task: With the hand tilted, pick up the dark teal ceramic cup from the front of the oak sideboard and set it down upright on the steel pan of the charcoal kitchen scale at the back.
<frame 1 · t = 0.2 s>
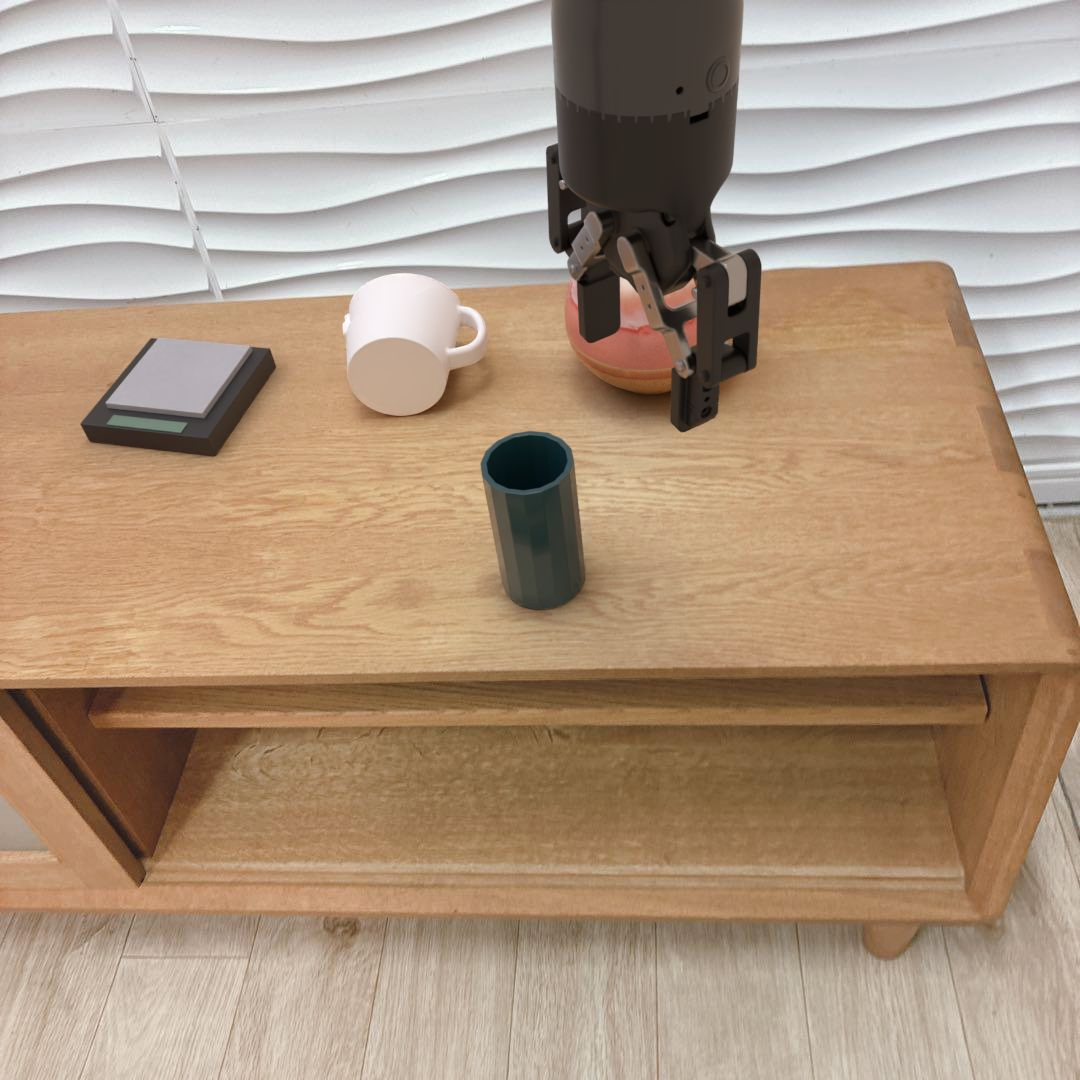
hand: (644, 377, 56), 21 cm above the table, tool pointing down, fingers open, 8 cm apart
scale: (185, 403, 93), on the table
mug: (424, 381, 92), on the table
vase: (652, 371, 90), on the table
cup: (543, 577, 75), on the table
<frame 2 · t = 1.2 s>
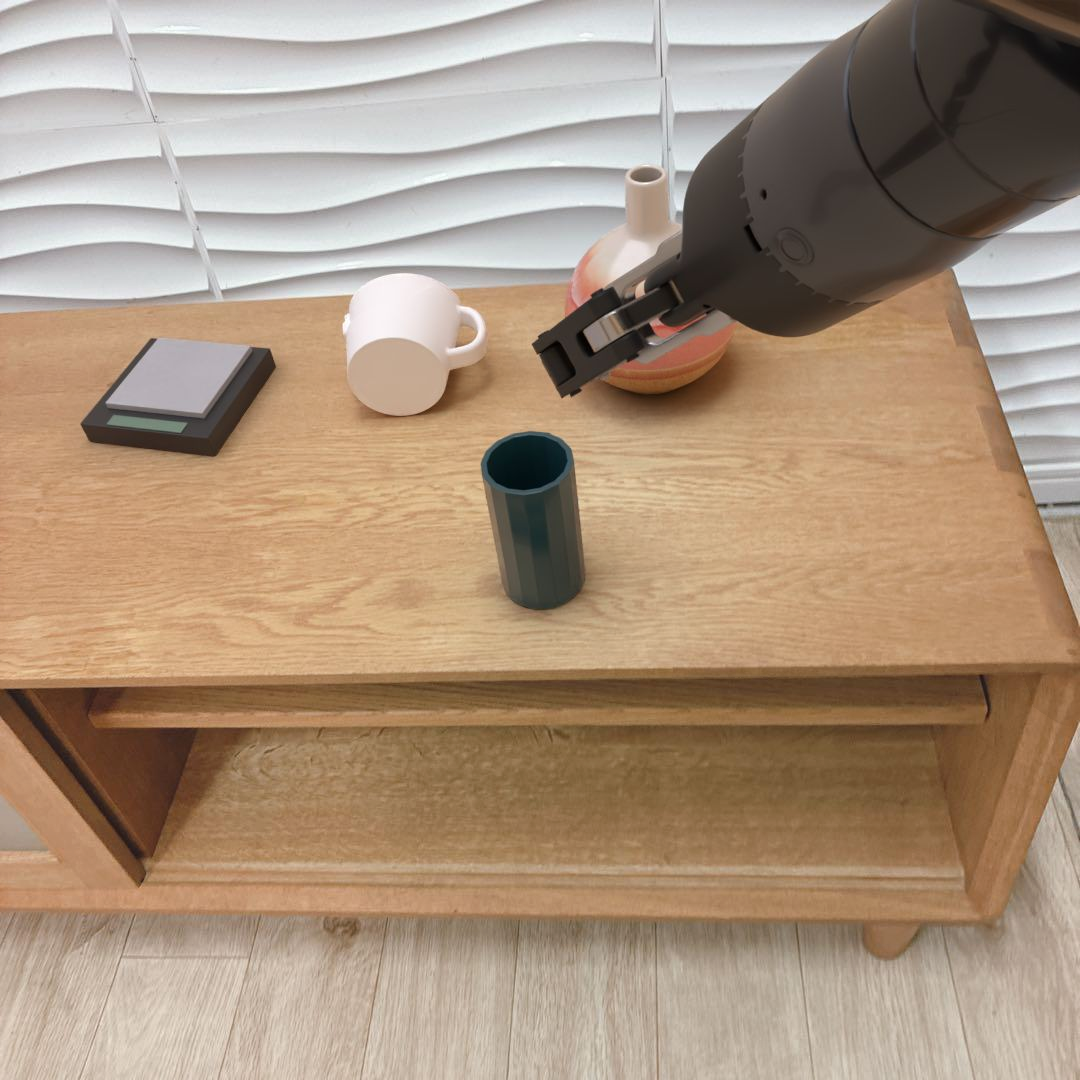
hand: (633, 330, 49), 27 cm above the table, tool tilted 45°, fingers open, 8 cm apart
nothing on the table moved.
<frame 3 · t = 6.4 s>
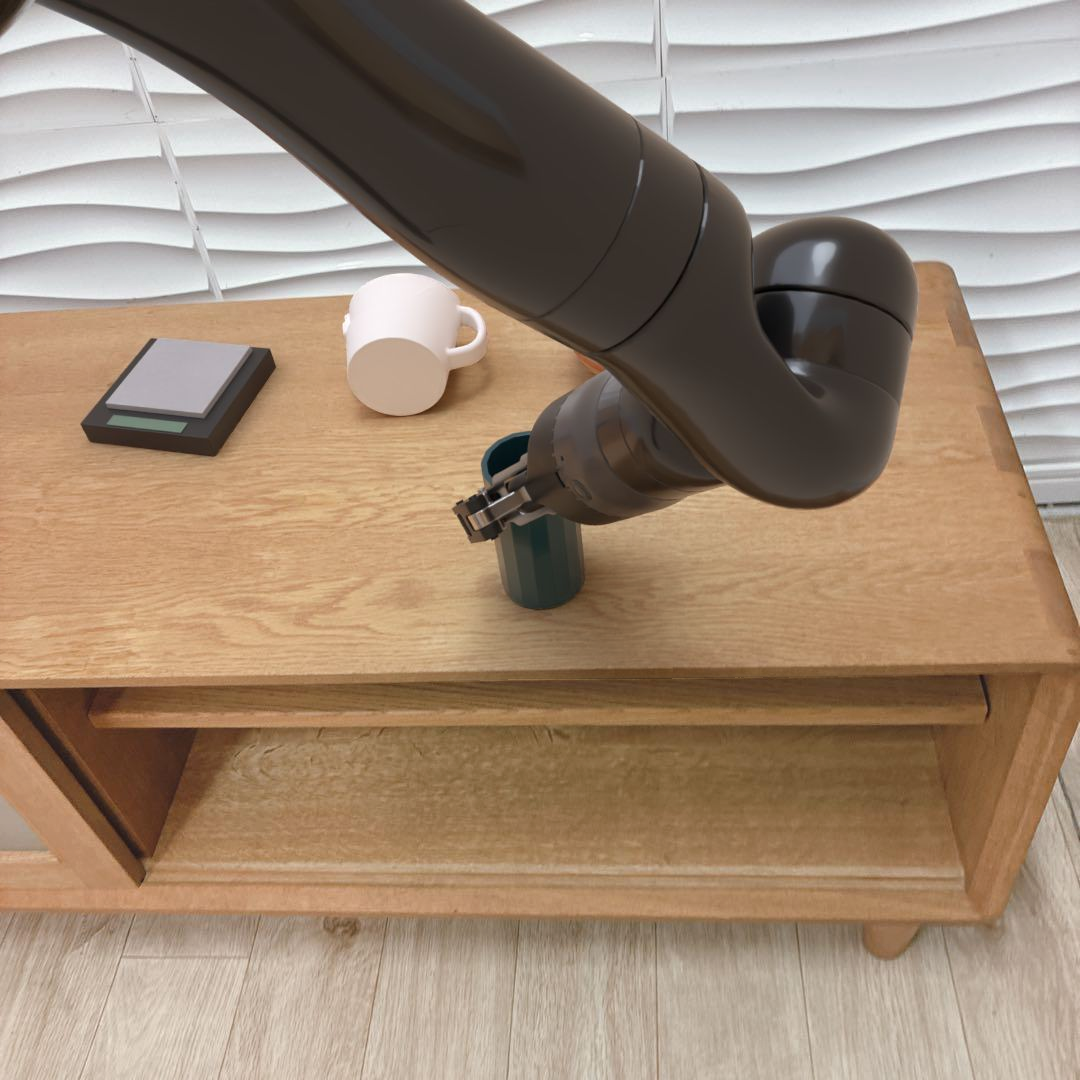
hand: (517, 490, 71), 7 cm above the table, tool tilted 45°, fingers closed on cup, 6 cm apart
cup: (543, 577, 75), on the table, touching gripper
everything else where it was.
when the fingers open (10 cm above the table, at t = 18.2 s): cup stays where it is, resting on scale.
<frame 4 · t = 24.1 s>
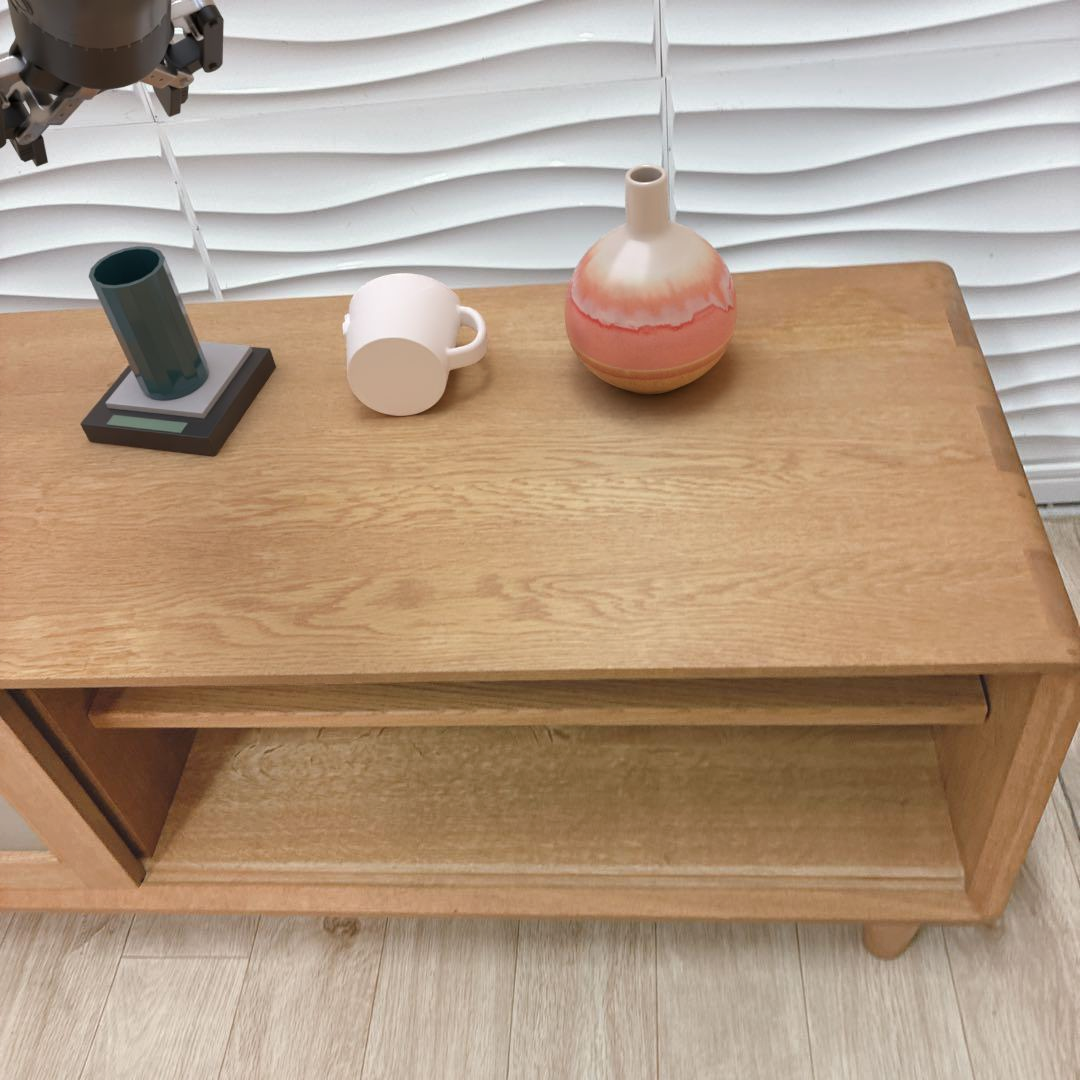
hand: (100, 126, 66), 29 cm above the table, tool tilted 45°, fingers open, 8 cm apart
cup: (175, 379, 91), point 3 cm above the table, touching scale
everything else where it was.
at the end: cup inside the target area on the scale (0.8 cm from its centre), point 2.6 cm above the scale's base; cup tilted 0°; the gripper is holding nothing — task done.
